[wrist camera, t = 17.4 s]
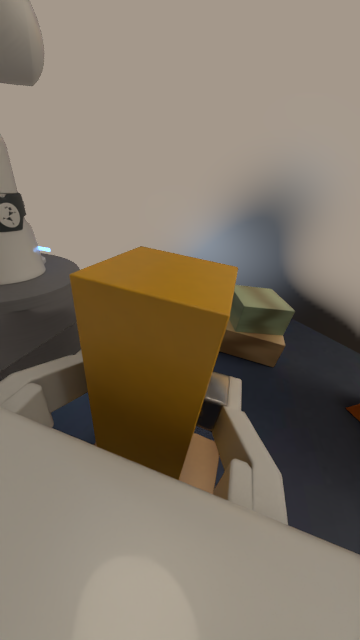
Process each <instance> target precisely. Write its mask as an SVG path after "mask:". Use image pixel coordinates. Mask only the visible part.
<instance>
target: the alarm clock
mask: <svg viewBox="0 0 360 640" xmlns="http://www.w3.org/2000/svg"><path fill="white" fill-rule="evenodd" d="M346 409H347V410H348V411H349V412H350V413H351V414H352V415H353V416H354V417H355V418H356V419H358V420H359V421H360V404H358V405H354V406H351V407H347V408H346Z"/></svg>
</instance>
